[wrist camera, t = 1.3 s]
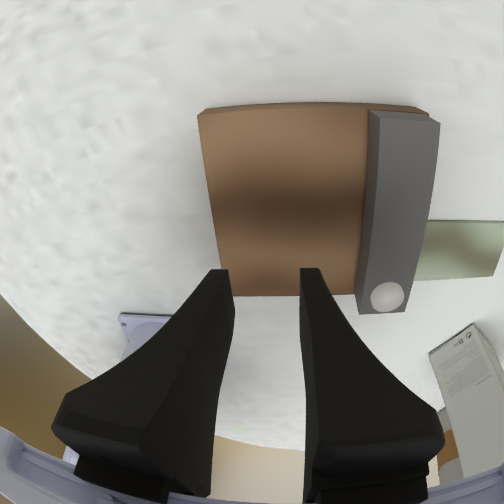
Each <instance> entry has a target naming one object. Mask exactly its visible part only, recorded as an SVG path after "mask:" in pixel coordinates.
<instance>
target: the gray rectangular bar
mask: <svg viewBox="0 0 504 504" xmlns="http://www.w3.org/2000/svg"><path fill="white" fill-rule="evenodd" d="M439 134H440V123H439V122H437V121H435V120H434V119H432V118H430V117H428V116H426V115H424V114H415V113H404V112H391V111H376V110H369V133H368V160H367V178H366V193H365V206H364V217H363V228H362V237H361V246H360V255H359V263H358V270H357V278H356V285H355V292H354V293H355V298H356V303H357V307H358V312H359V315H360V314H379V313H396V312H405V308H406V305H407V302H408V298H409V295H410V291H411V288H412V284H413V280H414V276H415V273H416V269H417V265H418V261H419V256H420V252H421V248H422V243H423V239H424V234H425V229H426V224H427V219H428V214H429V209H430V203H431V197H432V191H433V184H434V178H435V170H436V162H437V154H438V145H439Z"/></svg>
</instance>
